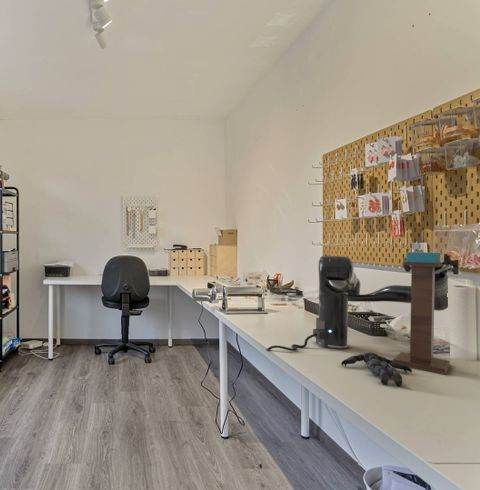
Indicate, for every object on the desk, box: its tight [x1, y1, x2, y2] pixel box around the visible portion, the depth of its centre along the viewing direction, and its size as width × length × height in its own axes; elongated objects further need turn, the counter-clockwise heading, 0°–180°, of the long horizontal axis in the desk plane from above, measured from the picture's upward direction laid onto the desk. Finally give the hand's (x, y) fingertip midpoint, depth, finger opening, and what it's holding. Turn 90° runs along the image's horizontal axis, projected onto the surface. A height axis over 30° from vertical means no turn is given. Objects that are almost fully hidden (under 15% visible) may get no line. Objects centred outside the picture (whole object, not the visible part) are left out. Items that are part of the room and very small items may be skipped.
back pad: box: [405, 251, 441, 263], centre depth 116 cm, size 19×7×3 cm, turn 132°
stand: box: [393, 262, 451, 375], centre depth 113 cm, size 12×12×32 cm
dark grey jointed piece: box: [341, 351, 413, 387], centre depth 106 cm, size 18×4×20 cm
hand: (427, 255), depth 119 cm, fingers open, 8 cm apart
